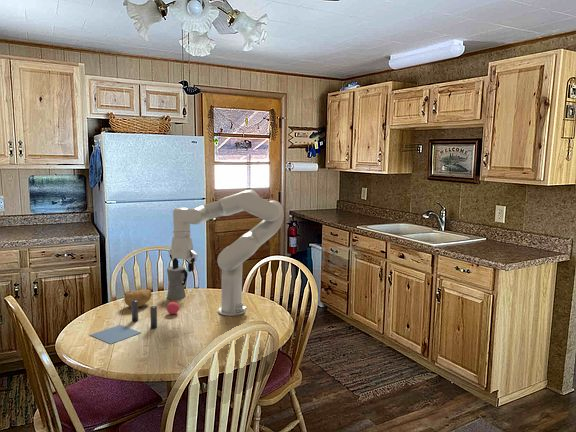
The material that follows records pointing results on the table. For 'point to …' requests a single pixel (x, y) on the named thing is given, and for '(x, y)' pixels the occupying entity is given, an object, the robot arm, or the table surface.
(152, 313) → the post
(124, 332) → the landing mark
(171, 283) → the coffeepot
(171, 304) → the ball
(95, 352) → the table surface
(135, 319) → the post
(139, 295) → the potato
